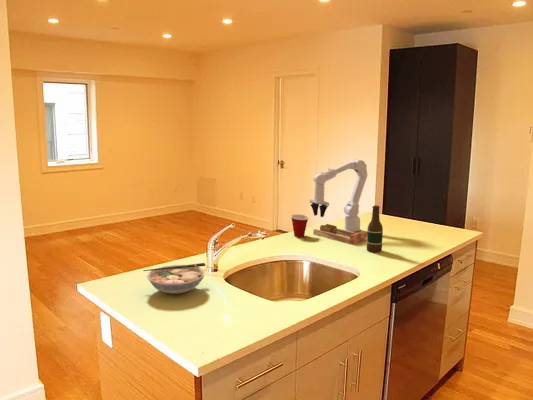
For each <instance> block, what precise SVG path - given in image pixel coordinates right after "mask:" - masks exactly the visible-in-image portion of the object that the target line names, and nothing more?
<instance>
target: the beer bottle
mask: <svg viewBox="0 0 533 400" xmlns="http://www.w3.org/2000/svg"><path fill="white" fill-rule="evenodd" d="M380 207H381V206H380V205H373V206H372V214H371V221H370V222H369V223H368V225H367V229H366V232H367V241H366V251H367V252H369V253H372V252H373V253H374V254H377V253H378V252H379V253H381V252H382V249H383V234H384V233H383V230H384V228H383V224H382V223H381V220H380V209H381V208H380ZM379 253H378V254H379Z"/></svg>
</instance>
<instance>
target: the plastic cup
mask: <svg viewBox="0 0 533 400" xmlns="http://www.w3.org/2000/svg"><path fill="white" fill-rule="evenodd" d="M290 218H291V223H292V229H293V235H294V237H295V238H296V237H297V238H303V237H305V233H306V230H307V229H306V228H307V223H308V221H309V219H310V217H309V216H308V215H305V214H292V215H290Z"/></svg>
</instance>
